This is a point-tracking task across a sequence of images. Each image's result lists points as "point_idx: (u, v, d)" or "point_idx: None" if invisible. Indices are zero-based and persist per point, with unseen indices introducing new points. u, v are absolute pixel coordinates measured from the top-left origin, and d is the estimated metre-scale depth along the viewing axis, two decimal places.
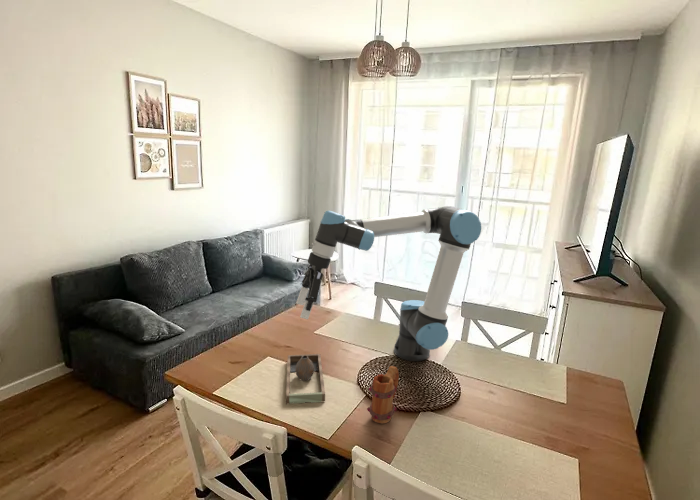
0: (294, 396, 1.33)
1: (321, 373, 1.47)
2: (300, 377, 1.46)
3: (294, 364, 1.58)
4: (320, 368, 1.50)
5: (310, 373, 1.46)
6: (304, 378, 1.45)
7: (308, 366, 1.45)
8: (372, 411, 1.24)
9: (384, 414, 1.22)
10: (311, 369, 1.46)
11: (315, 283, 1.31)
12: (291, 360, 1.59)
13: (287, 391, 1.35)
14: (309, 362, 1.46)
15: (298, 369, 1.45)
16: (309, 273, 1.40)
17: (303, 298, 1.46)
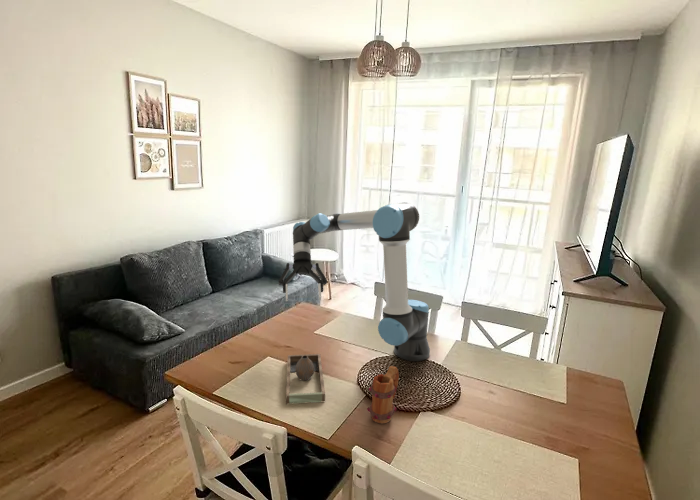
0: (294, 396, 1.33)
1: (321, 373, 1.47)
2: (300, 377, 1.46)
3: (294, 364, 1.58)
4: (320, 368, 1.50)
5: (310, 374, 1.46)
6: (304, 378, 1.45)
7: (308, 366, 1.45)
8: (372, 411, 1.24)
9: (384, 414, 1.22)
10: (311, 369, 1.46)
11: None
12: (291, 360, 1.59)
13: (287, 391, 1.35)
14: (309, 362, 1.46)
15: (298, 369, 1.45)
16: None
17: None
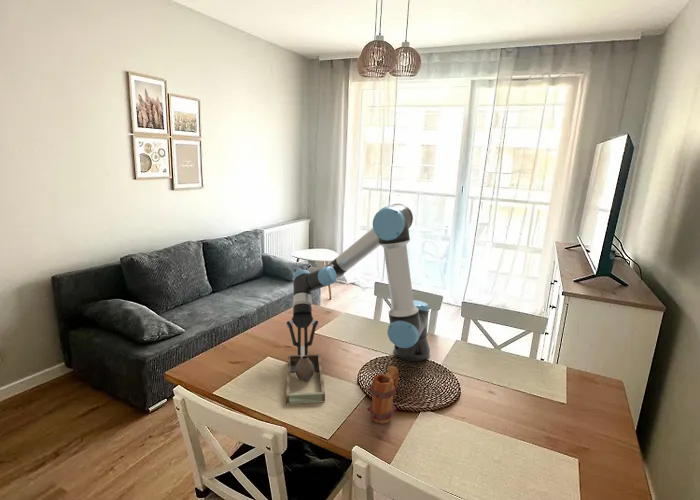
0: (294, 396, 1.33)
1: (321, 373, 1.47)
2: (300, 378, 1.45)
3: (294, 364, 1.58)
4: (320, 368, 1.50)
5: (310, 374, 1.45)
6: (304, 379, 1.45)
7: (308, 367, 1.45)
8: (372, 411, 1.24)
9: (384, 414, 1.22)
10: (310, 370, 1.45)
11: (290, 331, 1.58)
12: (291, 360, 1.59)
13: (287, 391, 1.35)
14: (309, 363, 1.46)
15: (298, 370, 1.45)
16: None
17: None
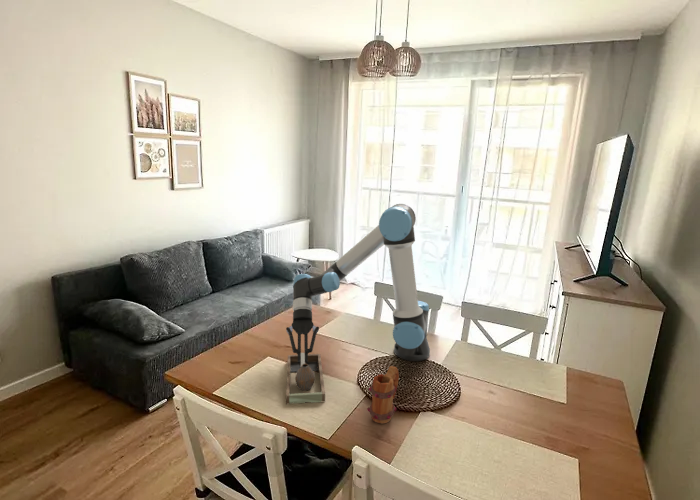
0: (294, 396, 1.33)
1: (321, 373, 1.47)
2: (301, 387, 1.39)
3: (294, 364, 1.58)
4: (320, 368, 1.50)
5: (311, 383, 1.40)
6: (305, 388, 1.39)
7: (309, 375, 1.39)
8: (372, 411, 1.24)
9: (384, 414, 1.22)
10: (312, 378, 1.40)
11: None
12: (291, 360, 1.59)
13: (287, 391, 1.35)
14: (310, 371, 1.40)
15: (299, 379, 1.39)
16: None
17: (302, 363, 1.47)
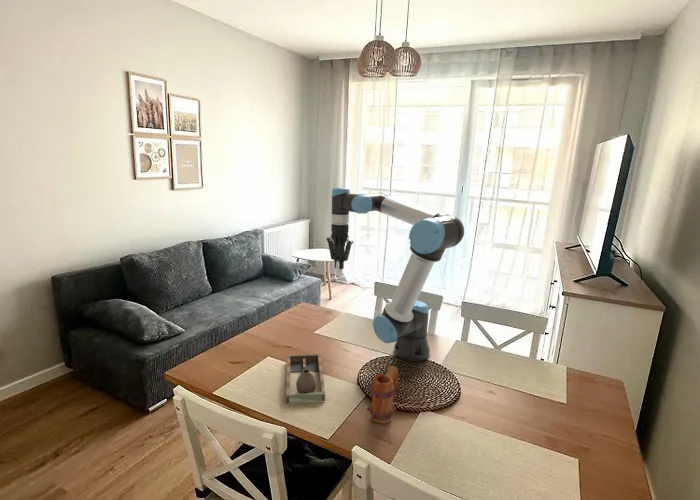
0: (294, 396, 1.33)
1: (321, 373, 1.47)
2: None
3: (294, 364, 1.58)
4: (320, 368, 1.50)
5: (312, 389, 1.36)
6: None
7: (310, 381, 1.35)
8: (372, 411, 1.24)
9: (384, 414, 1.22)
10: (313, 384, 1.36)
11: None
12: (291, 360, 1.59)
13: (287, 391, 1.35)
14: (311, 377, 1.36)
15: (299, 385, 1.35)
16: None
17: None
